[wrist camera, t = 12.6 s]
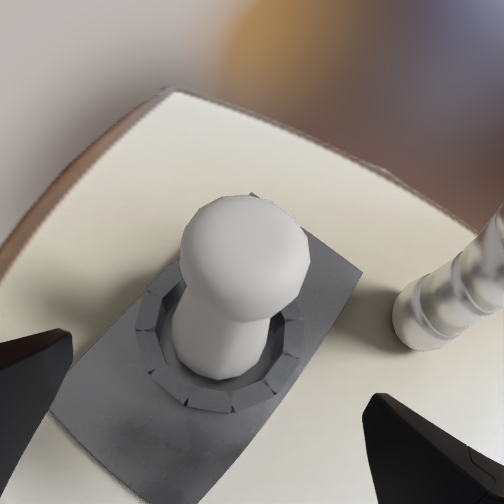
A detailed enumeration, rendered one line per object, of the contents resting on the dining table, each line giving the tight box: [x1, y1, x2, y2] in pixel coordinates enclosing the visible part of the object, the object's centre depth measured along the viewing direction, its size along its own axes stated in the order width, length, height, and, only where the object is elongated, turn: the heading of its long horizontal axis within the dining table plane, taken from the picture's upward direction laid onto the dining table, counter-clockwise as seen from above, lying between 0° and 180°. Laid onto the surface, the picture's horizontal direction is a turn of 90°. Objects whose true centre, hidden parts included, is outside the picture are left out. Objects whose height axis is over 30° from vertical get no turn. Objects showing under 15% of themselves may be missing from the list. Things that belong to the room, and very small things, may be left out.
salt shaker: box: [171, 195, 310, 380], centre depth 15 cm, size 6×6×13 cm
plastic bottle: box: [392, 204, 504, 352], centre depth 17 cm, size 6×7×20 cm
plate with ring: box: [49, 192, 363, 504], centre depth 20 cm, size 24×12×4 cm, turn 144°
